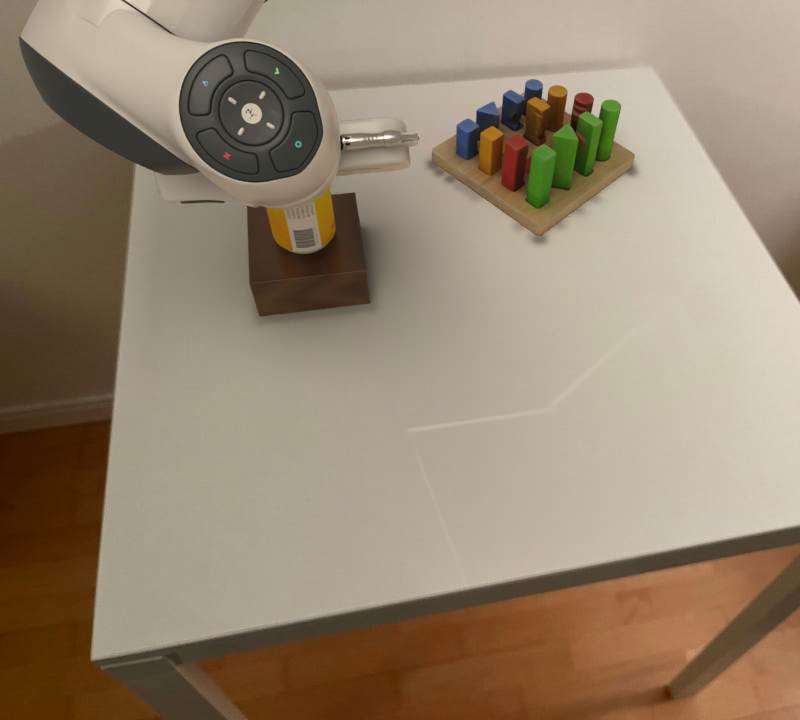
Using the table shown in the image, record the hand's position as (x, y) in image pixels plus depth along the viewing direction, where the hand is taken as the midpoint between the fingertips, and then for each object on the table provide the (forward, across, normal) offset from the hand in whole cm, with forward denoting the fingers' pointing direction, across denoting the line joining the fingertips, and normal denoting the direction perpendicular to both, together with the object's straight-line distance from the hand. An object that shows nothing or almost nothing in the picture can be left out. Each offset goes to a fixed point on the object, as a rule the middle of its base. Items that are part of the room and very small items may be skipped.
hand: (292, 163), depth 66 cm
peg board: (+18, -27, +1) cm, 33 cm away
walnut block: (+9, 0, +10) cm, 13 cm away
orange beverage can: (+6, 0, +7) cm, 9 cm away
